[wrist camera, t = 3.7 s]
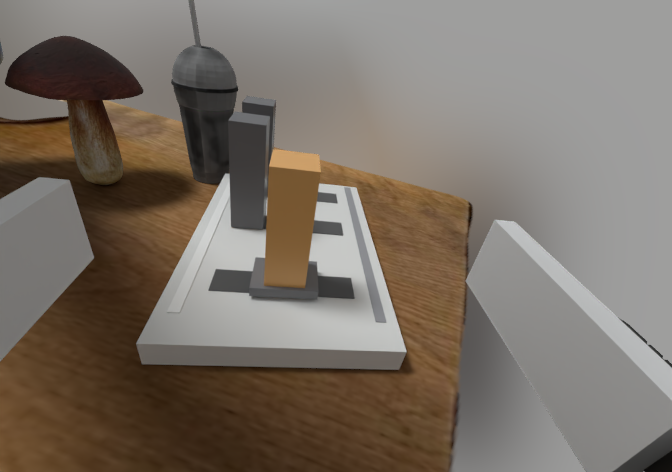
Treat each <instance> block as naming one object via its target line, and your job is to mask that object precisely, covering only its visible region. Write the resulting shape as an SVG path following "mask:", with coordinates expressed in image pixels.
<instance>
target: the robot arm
mask: <svg viewBox="0 0 672 472" xmlns="http://www.w3.org/2000/svg"><path fill="white" fill-rule="evenodd" d="M2 60H3V52H2V47H1V43H0V64H1V63H2ZM93 259H94V256H93V253H92V249H91V246H90V243H89V240H88V237H87V234H86V231H85V227H84V224H83V221H82V218H81V215H80V212H79V208H78V205H77V202H76V199H75V196H74V193H73V190H72V186H71V183H70V180H64V179H54V178H43V177H38V178H37V179H35V180H33V181H31V182H30V183H28V184H26V185H24V186H23V187H21V188H19V189H17V190H15V191H14V192H12V193H10V194H8V195H7V196H5V197H3V198H1V199H0V361H1V360H2V359H3V358H4V357H5V356H6V354H7V353H8V352H9V351H10V350H11V349H12V348H13V347H14V346H15V345H16V343H17V342H18V341H19V340H20V339H21V338H22V337H23V336H24V335H25V334H26V332H27V331H28V330H29V329H30V328H31V327H32V326H33V325H34V324H35V323H36V321H37V320H38V319H39V318H40V317H41V316H42V315H43V314H44V313H45V312H46V310H47V309H48V308H49V307H50V306H51V305H52V304H53V303H54V302H55V301H56V299H57V298H58V297H59V296H60V295H61V294H62V293H63V292H64V291H65V290H66V288H67V287H68V286H69V285H70V284H71V283H72V282H73V281H74V280H75V279H76V278H77V276H78V275H79V274H80V273H81V272H82V271H83V270H84V269H85V268H86V267H87V265H88V264H89V263H90V262H91V261H92V260H93ZM466 283H467V284H468V286H469V287H470V289H471V290H472V292H473V293H474V295H475V297H476V298H477V300H478V302H479V303H480V305H481V306H482V308H483V309H484V311H485V312H486V314H487V315H488V317H489V319H490V321H491V322H492V323H493V325H494V327H495V329H496V330H497V332H498V333H499V335H500V336H501V338H502V340H503V341H504V343H505V344H506V346H507V347H508V349H509V351H510V352H511V354H512V355H513V357H514V359H515V360H516V362H517V363H518V365H519V367H520V368H521V370H522V371H523V373H524V375H525V376H526V377H527V379H528V381H529V382H530V384H531V386H532V387H533V389H534V390H535V392H536V394H537V395H538V397H539V398H540V400H541V401H542V403H543V404H544V406H545V408H546V409H547V411H548V412H549V414H550V416H551V417H552V419H553V420H554V422H555V424H556V425H557V427H558V428H559V430H560V431H561V433H562V435H563V436H564V438H565V439H566V441H567V443H568V444H569V446H570V447H571V449H572V451H573V452H574V454H575V455H576V457H577V459H578V460H579V461H580V463H581V465H582V466H583V468H584V470H585V471H586V472H643V471H645V472H672V364H671V363H670V362H669V361H668V360H664V359H663V358H662V357H663V356H662V355H661V354H660V353H659V352H658V351H657V350H656V349H655V348H653V347H652V346H651V345H647V341H646V340H645V339H644V338H643V337H642V336H640V335H639V334H638V333H637V332H636V331H635V330H634V329H633V328H632V327H631V326H630V325H628V324H627V323H626V322H624V321H622V320H621V319H619V318H618V317H617V316H616V315H614V314H613V313H612V312H611V311H610V310H609V309H608V308H607V307H606V306H605V305H604V304H603V303H602V302H601V301H599V300H598V299H597V298H596V297H595V296H594V295H593V294H592V293H591V292H590V291H589V290H588V289H587V288H585V287H584V286H583V285H582V284H581V283H580V282H579V281H578V280H577V279H576V278H575V277H574V276H573V275H571V274H570V273H569V272H568V271H567V270H566V269H565V268H564V267H563V266H562V265H561V264H560V263H559V262H557V260H555V259H554V258H553V257H552V256H551V255H550V254H549V253H548V252H547V251H546V250H545V249H544V248H542V247H541V246H540V245H539V244H538V243H537V242H536V241H535V240H534V239H533V238H532V237H531V236H530V235H529V234H527V233H526V232H525V231H524V230H523V229H522V228H521V227H520V226H519V225H518V224H517V223H516V222H513V221H502V220H494V222H493V224H492V226H491V229H490V231H489V233H488V235H487V237H486V239H485V241H484V243H483V245H482V247H481V250H480V252H479V254H478V256H477V258H476V260H475V262H474V265H473V267H472V269H471V271H470V273H469V275H468V277H467V279H466Z"/></svg>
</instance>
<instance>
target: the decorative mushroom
mask: <svg viewBox="0 0 672 472" xmlns="http://www.w3.org/2000/svg"><path fill="white" fill-rule="evenodd" d="M5 84H6V85H7V86H8V87H11V88H13V89H16V90H19V91H22V92H25V93H28V94H31V95H35V96H39V97H43V98H48V99H56V100H67V104H68V110H69V127H70V136H71V141H72V145H73V149H74V153H75V159H76V163H77V166H78V169H79V171H80V173H81V175H82V176H83V177H84V178H85V179H86V180H87V181H89V182H92V183H95V184H100V185H109V184H112V183H115V182H117V181H118V180H120V179H121V177H122V174H123V164H122V159H121V155H120V151H119V147H118V144H117V140H116V137H115V134H114V131H113V128H112V125H111V123H110V120H109V118H108V115H107V112H106V109H105V107H104V104H103V101H102V100H114V99H124V98H130V97H134V96H138V95H140V94H142V93H143V89H142V87H141V85H140V84H139V82H138V81H137V79H136V78H135V77H134V75H133V74H132V73H131V72H130V71H129V70H128V69H127V68H126V67H125V66H124V65H123V64H122V63H120V62H119V61H118V60H117V59H115V58H114V57H112V56H111V55H110V54H109V53H107V52H105V51H104V50H102V49H100V48H98V47H97V46H94V45H92V44H90V43H88V42H86V41H83V40H80V39H77V38H75V37H70V36H60V37H54V38H51V39H48V40H46V41H44V42H41V43H39V44H38V45H36V46H34V47H32V48H31V49H29V50H28V51H26V52H25V53H23V54H22V55H20V56H19V57H18V58H17V59H16V60H15V61H14V62H13V63H12V65H11V66H10V68H9V70H8V73H7V77H6V80H5Z"/></svg>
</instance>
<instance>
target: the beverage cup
mask: <svg viewBox="0 0 672 472" xmlns="http://www.w3.org/2000/svg"><path fill="white" fill-rule="evenodd" d="M189 7H190V13H191V19H192V25H193V32H194V38H195V44H196V45H195V46H191V47H188V48H186V49H185V50H183V52H181V53H180V54H179V56H178V57H177V59H176V61H175V63H174V66H173V73H172V76H173V79H172V82H171V83H172V85H173V86H174V92H175V95H176V98H177V101H178V103H179V107H180V112H181V117H182V122H183V128H184V133H185V138H186V143H187V149H188V154H189V159H190V164H191V167H192V171H193V177H194V179H196V180H197V181H199V182H203V183H211V184H213V183H221V181H222V179H223V177H224V175H225V173H226V174H229V136H228V120H229V118H230V117H231V116H232V115H233V111H234V106H235V102H236V93H237V91H238V87H237V83H236V77H235V73H234V71H233V68H232V67H231V65H230V63H229V61H228V60H227V59H226V58H225V57H224V56H223V55H222V54H221V53H220V52H219V51H217V50H215V49H214V48H211V47H205V46H201V44H200V37H199V32H198V25H197V18H196V12H195V6H194V0H189Z"/></svg>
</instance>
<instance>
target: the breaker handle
mask: <svg viewBox="0 0 672 472" xmlns="http://www.w3.org/2000/svg"><path fill="white" fill-rule="evenodd" d="M320 174H321V170H320V160H319V155H317V154H309V153H301V152H292V151H284V150H276V149H273V152H272V156H271V160H270V164H269V177H268V200H267V224H266V247H265V258H260V257H256V258H255V262H254V267H253V272H252V277H251V282H250V286H249V296H260V297H279V298H297V299H316V300H317V298H318V292H319V291H318V271H317V262H315V261H309V255H310V248H311V240H312V233H313V226H314V218H315V211H316V204H317V196H318V189H319V181H320Z"/></svg>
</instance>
